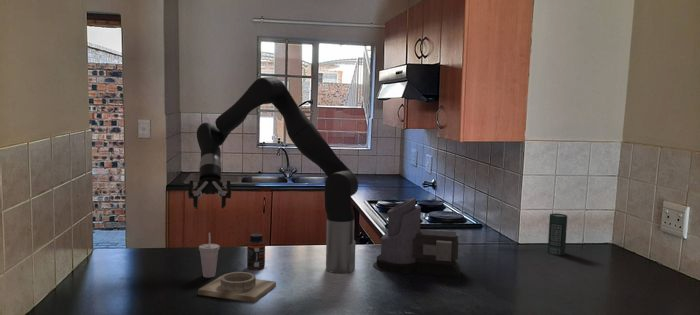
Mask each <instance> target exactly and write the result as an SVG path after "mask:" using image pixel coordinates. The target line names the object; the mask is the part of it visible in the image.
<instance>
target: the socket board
mask: <svg viewBox="0 0 700 315" xmlns="http://www.w3.org/2000/svg"><path fill="white" fill-rule="evenodd" d="M276 287H277V281H274V280H268V279H267V280H266V279H258V278H256V274H254V273H252V272H247V271H246V272H245V271H233V272H229V273H224V274H223V275H220V276H219V277H216V279H214V280H212V281H210V282H209V283H207V284H205V285H203V286H202V287H200V288H198V289H197V295H198V296H205V297H214V298H220V299H227V300H236V301H242V302H243V301H244V302H248V303H249V302H250V303H256V302H258V301H259V300H260V299H262V298H263V297H264V296H265V295H267V294H268V293H270V291H272V290H273V289H275V288H276Z"/></svg>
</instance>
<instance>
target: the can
mask: <svg viewBox="0 0 700 315" xmlns="http://www.w3.org/2000/svg"><path fill="white" fill-rule="evenodd" d="M548 223H549V225H548V239H547V253H548V254H551V255H556V256H563V255H565V254H566V244H567V228H568V215H567V214H563V213H550V214H549V222H548Z"/></svg>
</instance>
